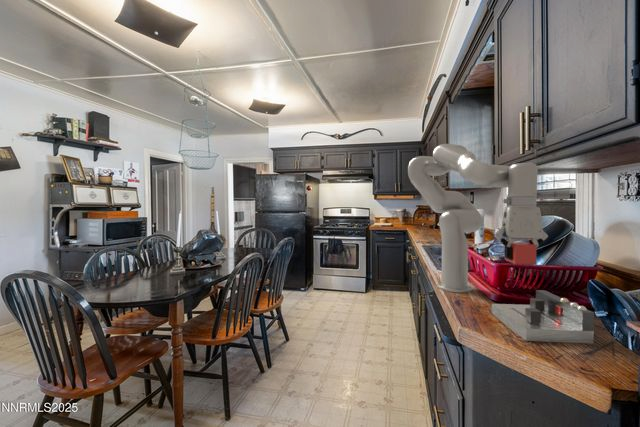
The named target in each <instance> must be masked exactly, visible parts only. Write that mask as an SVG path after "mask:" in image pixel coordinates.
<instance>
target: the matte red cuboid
mask: <svg viewBox="0 0 640 427" xmlns="http://www.w3.org/2000/svg"><path fill="white" fill-rule="evenodd" d="M511 247H513V259H512V260H509V259H507V258H506V257H505V256H504V260H505V261H507V262H509V263H512V264H514V265H537V252H536V250H537V249H538V248H537V245H534V244H530V243H529V242H525V241H513V243H512V245H511Z"/></svg>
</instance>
